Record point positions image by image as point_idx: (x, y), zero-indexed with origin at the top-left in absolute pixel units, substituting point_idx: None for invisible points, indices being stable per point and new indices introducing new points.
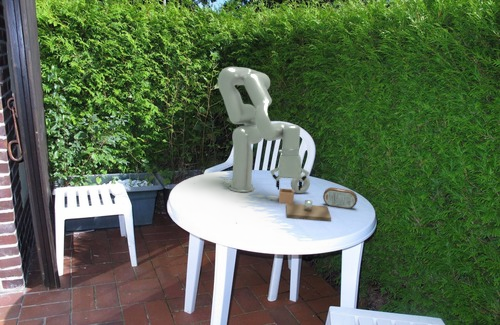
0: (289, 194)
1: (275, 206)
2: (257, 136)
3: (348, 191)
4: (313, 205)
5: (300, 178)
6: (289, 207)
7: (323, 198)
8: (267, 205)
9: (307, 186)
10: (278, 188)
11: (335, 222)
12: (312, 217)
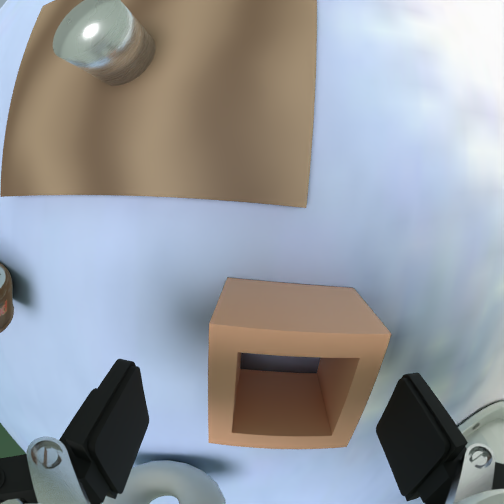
0: (268, 321)
1: (394, 194)
2: None
3: None
4: (62, 188)
5: (49, 494)
6: (286, 82)
7: (1, 296)
8: (445, 213)
9: None
10: (414, 379)
11: None
12: None
